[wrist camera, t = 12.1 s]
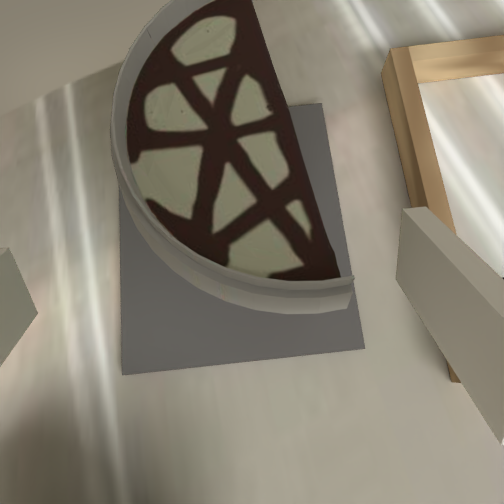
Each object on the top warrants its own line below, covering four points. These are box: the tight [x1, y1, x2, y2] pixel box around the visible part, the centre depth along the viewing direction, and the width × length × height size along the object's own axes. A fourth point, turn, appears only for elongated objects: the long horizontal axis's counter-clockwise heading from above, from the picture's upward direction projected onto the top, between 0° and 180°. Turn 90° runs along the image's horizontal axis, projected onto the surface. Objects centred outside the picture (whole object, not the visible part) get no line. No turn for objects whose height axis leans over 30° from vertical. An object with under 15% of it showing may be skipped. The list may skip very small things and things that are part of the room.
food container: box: [110, 0, 355, 314], centre depth 17 cm, size 12×6×10 cm, turn 14°
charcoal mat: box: [119, 103, 365, 375], centre depth 22 cm, size 12×14×1 cm
